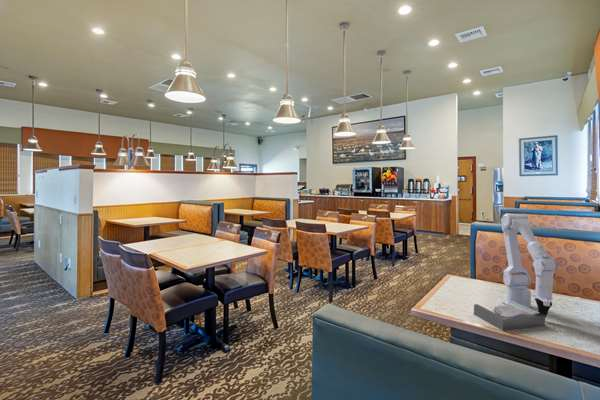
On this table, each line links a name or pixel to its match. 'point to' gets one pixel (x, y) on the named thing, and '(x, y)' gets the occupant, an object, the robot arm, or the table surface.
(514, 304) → the sliding jaw
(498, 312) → the stone block
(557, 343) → the table surface
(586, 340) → the table surface
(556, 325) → the table surface
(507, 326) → the frame
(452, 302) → the table surface
